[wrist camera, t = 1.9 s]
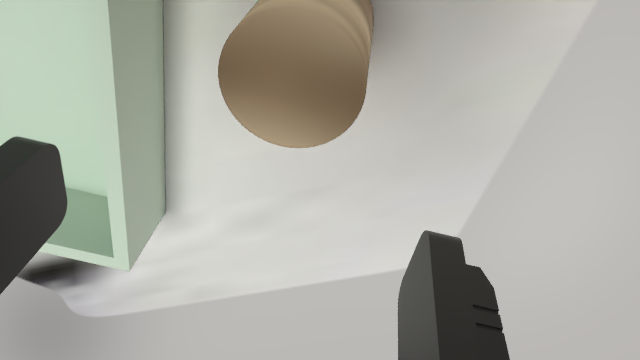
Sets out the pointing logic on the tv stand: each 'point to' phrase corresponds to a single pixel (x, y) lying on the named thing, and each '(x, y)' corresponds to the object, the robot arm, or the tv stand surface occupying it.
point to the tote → (91, 115)
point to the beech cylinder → (298, 69)
